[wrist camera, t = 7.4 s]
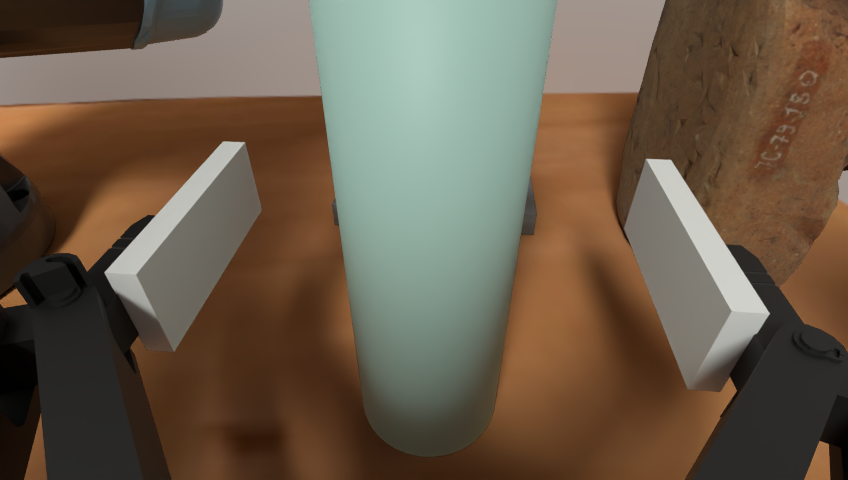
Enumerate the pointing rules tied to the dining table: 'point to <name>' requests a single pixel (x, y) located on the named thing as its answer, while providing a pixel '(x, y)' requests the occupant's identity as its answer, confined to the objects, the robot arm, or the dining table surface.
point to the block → (748, 119)
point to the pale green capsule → (431, 197)
